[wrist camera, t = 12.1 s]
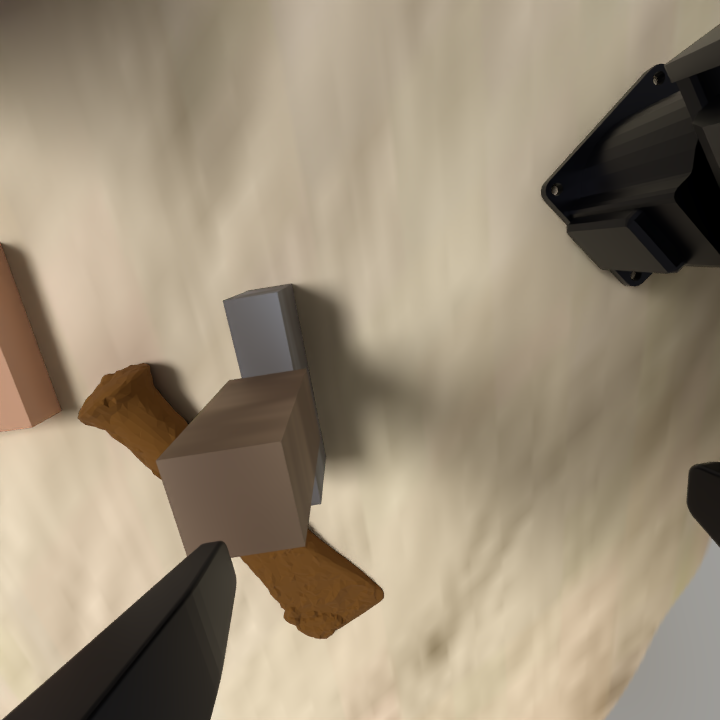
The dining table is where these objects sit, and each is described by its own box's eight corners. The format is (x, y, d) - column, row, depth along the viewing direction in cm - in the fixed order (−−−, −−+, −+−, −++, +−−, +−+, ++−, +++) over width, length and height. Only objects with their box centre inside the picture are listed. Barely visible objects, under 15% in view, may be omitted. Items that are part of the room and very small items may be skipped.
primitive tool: (388, 589, 23) (395, 646, 20) (317, 636, 24) (312, 698, 21) (150, 345, 19) (108, 364, 16) (73, 410, 20) (17, 443, 16)
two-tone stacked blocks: (302, 282, 18) (252, 316, 8) (335, 455, 20) (325, 636, 11) (238, 291, 18) (115, 337, 8) (278, 463, 20) (218, 652, 11)
